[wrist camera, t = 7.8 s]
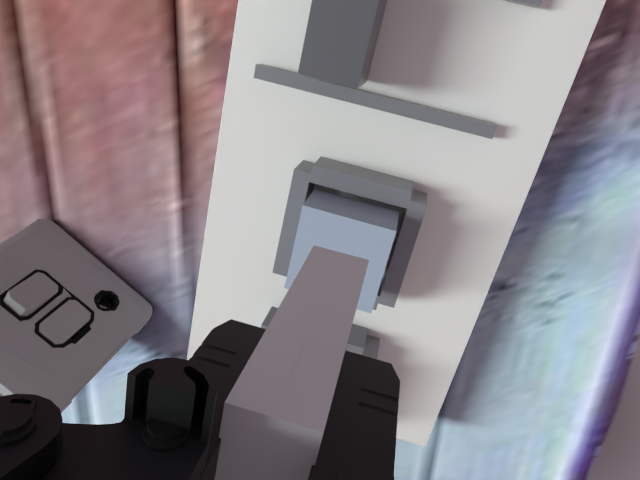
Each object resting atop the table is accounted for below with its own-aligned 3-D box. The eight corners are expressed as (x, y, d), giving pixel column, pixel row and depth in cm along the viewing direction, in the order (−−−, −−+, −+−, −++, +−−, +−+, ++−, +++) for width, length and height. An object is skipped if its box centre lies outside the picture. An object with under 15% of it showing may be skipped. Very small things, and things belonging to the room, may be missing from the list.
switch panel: (276, -111, 24) (241, -148, 19) (601, -39, 22) (647, -59, 18) (203, 344, 34) (170, 392, 29) (424, 412, 33) (425, 473, 28)
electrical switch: (161, 308, 34) (64, 407, 25) (125, 348, 36) (26, 451, 28) (48, 211, 32) (-91, 282, 24) (19, 260, 35) (-116, 339, 27)
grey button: (314, 188, 24) (302, 205, 21) (399, 212, 23) (396, 231, 21) (297, 264, 25) (284, 288, 23) (376, 287, 25) (371, 313, 22)
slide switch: (335, -29, 22) (320, -42, 18) (391, -16, 21) (385, -27, 18) (315, 68, 23) (297, 73, 20) (366, 81, 23) (357, 88, 20)
